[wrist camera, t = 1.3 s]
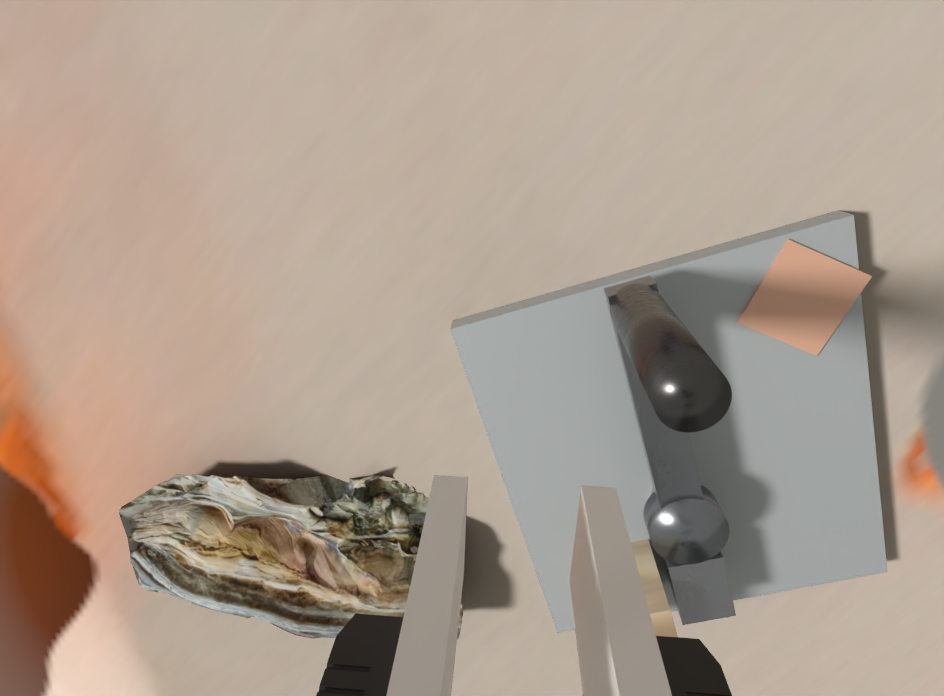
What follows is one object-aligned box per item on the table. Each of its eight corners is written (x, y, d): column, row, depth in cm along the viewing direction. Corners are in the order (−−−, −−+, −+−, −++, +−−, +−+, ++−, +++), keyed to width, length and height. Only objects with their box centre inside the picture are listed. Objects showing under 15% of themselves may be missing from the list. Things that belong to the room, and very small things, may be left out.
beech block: (660, 584, 40) (683, 661, 35) (601, 596, 41) (615, 672, 35) (647, 538, 39) (670, 610, 33) (587, 551, 40) (600, 623, 34)
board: (874, 555, 40) (887, 571, 39) (556, 616, 44) (557, 632, 42) (839, 210, 32) (853, 215, 31) (452, 320, 36) (450, 329, 34)
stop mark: (815, 354, 33) (816, 356, 33) (736, 321, 33) (737, 322, 33) (870, 275, 32) (872, 276, 31) (787, 239, 31) (789, 239, 31)
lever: (729, 577, 39) (825, 786, 27) (662, 590, 40) (726, 799, 28) (661, 257, 32) (753, 348, 19) (580, 280, 32) (620, 382, 20)
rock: (441, 606, 49) (480, 469, 41) (443, 692, 43) (489, 549, 35) (139, 583, 45) (124, 428, 38) (95, 674, 39) (67, 509, 32)
